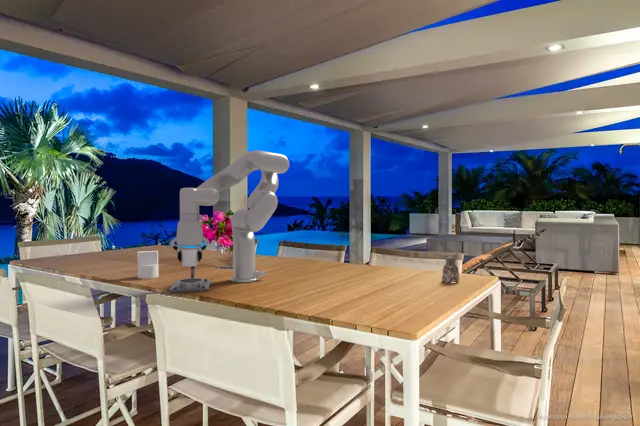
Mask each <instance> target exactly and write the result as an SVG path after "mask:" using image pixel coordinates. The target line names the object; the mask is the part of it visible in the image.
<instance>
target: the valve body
mask: <svg viewBox="0 0 640 426" xmlns="http://www.w3.org/2000/svg"><path fill="white" fill-rule="evenodd" d="M199 263H200V262H197V265H196V266H190V277H187V278H182V279H178V280H174V282H173V284H172V285H171V287H170V288H169V289H168V293H187V292H188V293H189V292H205V291H204V290H209V289H210V287H211V283H212V279H208V278H201V277H200V278H199V277H195V275H196V274H195V267H197V266H199V265H200V264H199Z"/></svg>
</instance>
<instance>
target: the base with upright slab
mask: <svg viewBox="0 0 640 426" xmlns="http://www.w3.org/2000/svg"><path fill="white" fill-rule="evenodd" d="M136 256H137V279H139V278H142V279H141V280H148V279H147V278H151V279H157V278H159V250H144V251H143V250H142V251H137V255H136ZM156 277H157V278H156Z"/></svg>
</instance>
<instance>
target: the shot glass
mask: <svg viewBox="0 0 640 426" xmlns="http://www.w3.org/2000/svg"><path fill="white" fill-rule="evenodd" d="M198 252H199V249H198V248H197V247H184V248H183V247H182V248H181V253H182V261H181V263H182V266H183V267H191V266H194V267H197V266H198V265H197V263H198ZM196 265H197V266H196Z"/></svg>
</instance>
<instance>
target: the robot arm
mask: <svg viewBox="0 0 640 426" xmlns="http://www.w3.org/2000/svg"><path fill="white" fill-rule="evenodd" d="M289 168H290V161H289V159H288V157H287V156H286V155H284V154H281V153H276V152H269V151H265V150H251V151H245V153H243V154H241V155H240V156H239V157H238V158H236V159H235V160H234V161H233V162H231V163H230V164H229V165H228V166H226V167H225V168H224V169H222V170H221V171H219V172H218V173H216V174H214V175H213V176H211V177H209V178H208V179H207V180H205V181H204V182H203V183H201V184H200V185H198V187H196V188H195V187H183V188H182V187H181V188H180V190H179V221H178V222H177V227H176V228H177V229H176V236H175V237H174V238H173V239H171V241H169V245H170V246H171V247H172V249H173V250H175V251H176V253H177V260H178V262H179V263H182V253H181V249H182V248H183V247H195V246H196V248H198V259H197V262H198V263H200V262H201V260H203V251H204V250H205V249H206V248H207V247H208V245H209V244H210V243H211V241H209V239H208V238H206V237H205V236H204V235H203V234H204V232H203V223H202V220H201V221H200V219H204V217H203V216H204V215H202V214H200V206H205V207H206V206H207V207H209V206H214V205H216V204H217V203H219V201H220V193H219V192H223V191H224V190H227V189H230V188H233V187H235V186H237V185H238V184H240V183H241V182H242V181H243V180H244V179H245V178H247V177H248V176H249V175H250V174H251V173H253V172H255V171H260V172H261V179H260V181H259V183H258V184H257V186H256V187H255V189H254V190H253V191H252V192H251V194H249V196H248V197H247V200H246V206H247V208H248V209H247V208H246V209H245V208H242V209H238V210H236V211H234V212H233V214H232V216H231V219H230V225H231V230H232V243H233V244H232V251H233V252H232V254H233V260H232V261H233V265H232V266H233V276H230V278H229V281H230V282H233V283H251V282H256V281H258V280H259V276H261V277H263V276H266V271H263V270H260V271H259V270H256V238H255V233H256V232H258V231H260V230H262V229H263V228H264V227H265V225H266V224H267V222H268V221H269V220H270V218H271V217H272V216H273V214H274V213H275V211H276V209H277V207H278V204H279V202H278V197H277V195H276V192H277V190H278V188H279V176H278V175H279V174H284V173H286V172H287V171H288V170H289ZM175 242H176V244H175ZM203 243H204V245H203V246H202V244H203Z"/></svg>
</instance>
